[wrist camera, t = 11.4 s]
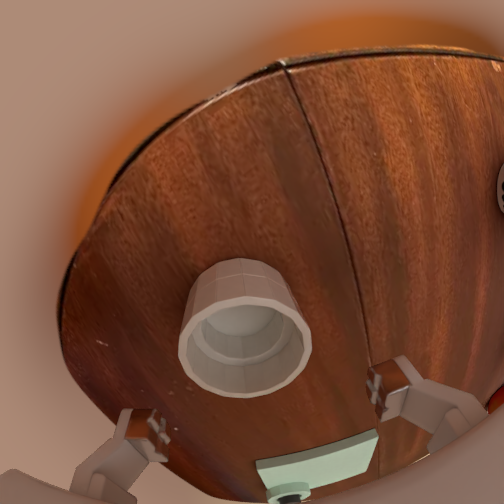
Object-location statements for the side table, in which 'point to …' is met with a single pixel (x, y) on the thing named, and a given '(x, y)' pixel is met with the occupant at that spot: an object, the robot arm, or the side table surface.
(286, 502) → the tare button
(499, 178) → the cup
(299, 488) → the scale
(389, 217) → the side table surface
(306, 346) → the bowl
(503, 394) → the apple
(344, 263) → the side table surface
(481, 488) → the robot arm
